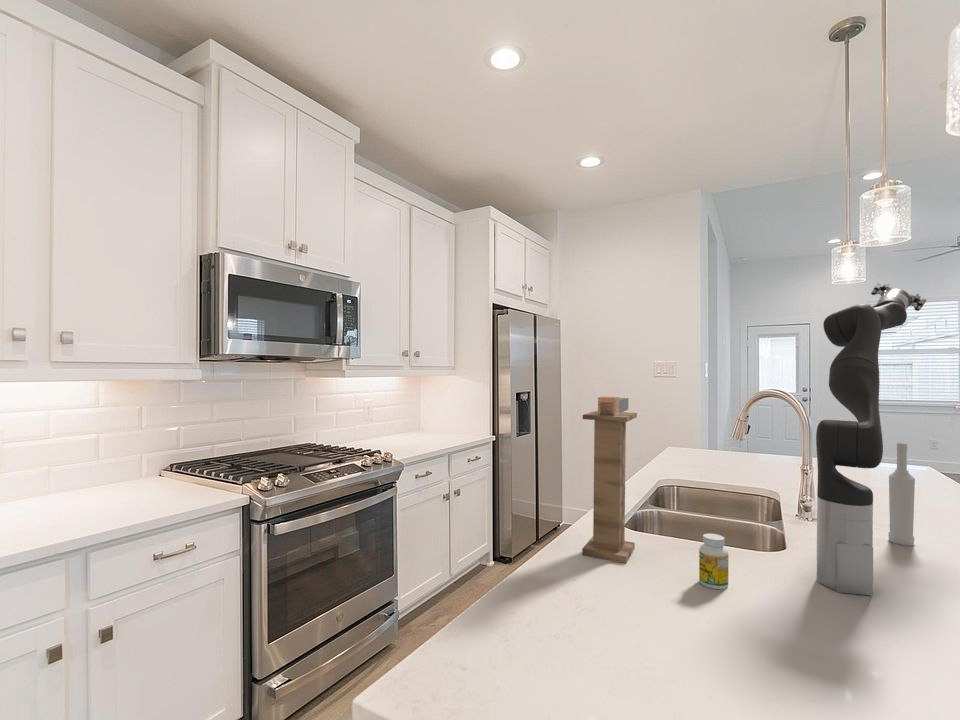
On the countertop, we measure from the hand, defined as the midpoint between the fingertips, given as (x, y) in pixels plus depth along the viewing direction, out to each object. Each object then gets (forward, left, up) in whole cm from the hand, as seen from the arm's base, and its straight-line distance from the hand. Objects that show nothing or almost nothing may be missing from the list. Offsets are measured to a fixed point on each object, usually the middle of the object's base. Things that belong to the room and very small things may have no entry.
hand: (901, 291), depth 170 cm
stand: (-72, +98, -70) cm, 140 cm away
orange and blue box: (-67, +96, -37) cm, 123 cm away
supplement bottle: (-85, +78, -70) cm, 135 cm away
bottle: (-47, +25, -70) cm, 88 cm away
